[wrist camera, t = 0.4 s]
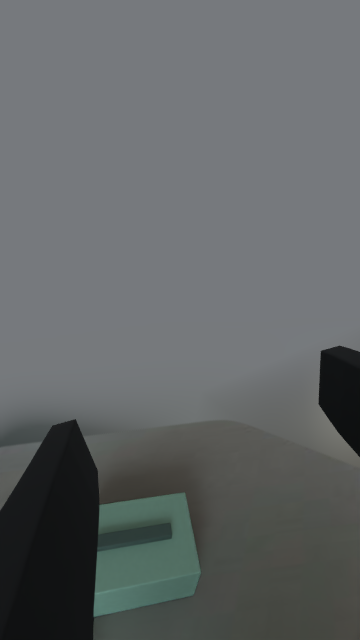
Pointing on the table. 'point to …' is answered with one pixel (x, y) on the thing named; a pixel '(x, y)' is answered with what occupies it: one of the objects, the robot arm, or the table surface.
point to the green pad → (144, 553)
